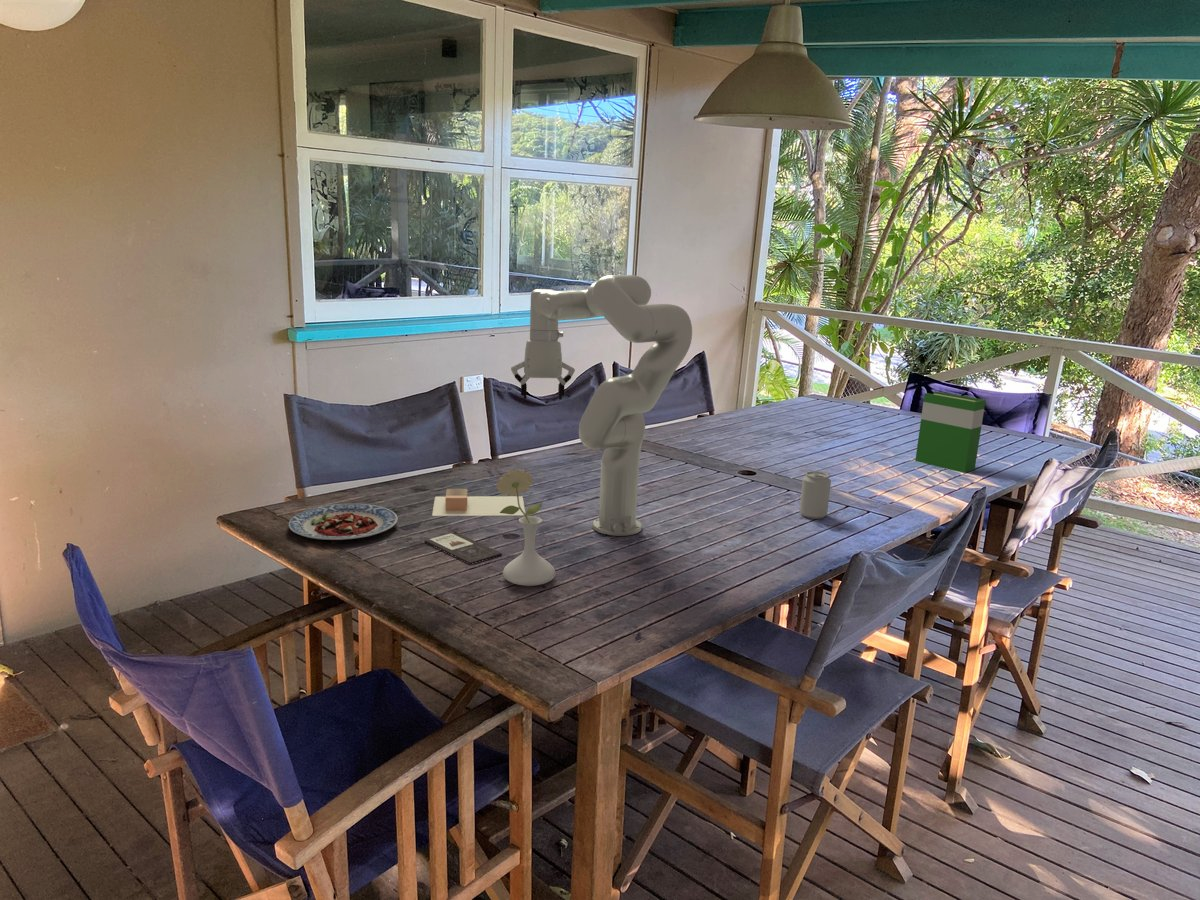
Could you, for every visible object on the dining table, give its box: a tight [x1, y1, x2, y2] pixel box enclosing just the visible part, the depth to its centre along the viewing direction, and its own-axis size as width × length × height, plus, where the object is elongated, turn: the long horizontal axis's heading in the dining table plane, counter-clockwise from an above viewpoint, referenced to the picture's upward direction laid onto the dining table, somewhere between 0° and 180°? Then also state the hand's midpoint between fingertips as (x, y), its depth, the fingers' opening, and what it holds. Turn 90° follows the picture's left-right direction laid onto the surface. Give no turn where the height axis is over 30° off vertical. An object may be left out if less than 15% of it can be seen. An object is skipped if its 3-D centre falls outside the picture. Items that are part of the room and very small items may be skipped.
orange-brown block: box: [445, 488, 468, 511], centre depth 229 cm, size 6×8×4 cm
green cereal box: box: [914, 390, 986, 474], centre depth 291 cm, size 18×7×24 cm, turn 42°
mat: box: [431, 495, 526, 517], centre depth 230 cm, size 16×24×1 cm, turn 98°
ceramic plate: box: [288, 503, 399, 541], centre depth 212 cm, size 26×26×3 cm
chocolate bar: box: [424, 531, 503, 565], centre depth 202 cm, size 9×1×18 cm
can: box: [798, 470, 832, 520], centre depth 235 cm, size 8×8×12 cm
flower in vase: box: [495, 468, 556, 587], centre depth 182 cm, size 13×11×25 cm
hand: (542, 398), depth 235 cm, fingers open, 9 cm apart
